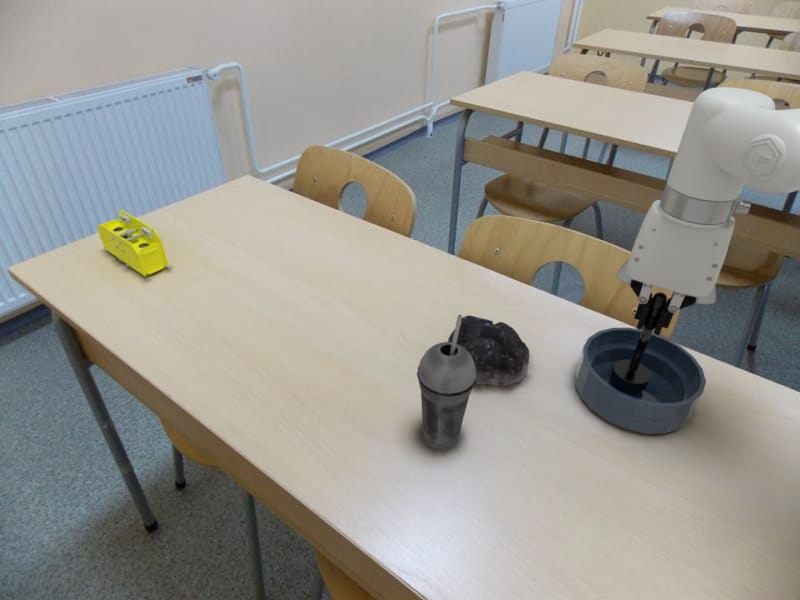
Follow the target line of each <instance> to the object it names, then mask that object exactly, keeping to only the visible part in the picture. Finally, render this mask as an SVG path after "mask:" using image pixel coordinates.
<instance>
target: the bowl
mask: <svg viewBox="0 0 800 600" xmlns="http://www.w3.org/2000/svg"><path fill="white" fill-rule="evenodd" d="M642 330H643V329H637V328H633V327H610V328H606V329H602V330H599V331H597V332H595V333H594V334H592V335H590V336H589V337H588V338H587V339H586V341H585V343H584V345H583V347H582V350H581V353H580V357H579V361H578V364H577V367H576V370H575V379H574V381H575V387H576V389H577V391H578V394H579V396H580V398H581V399H582V400H583V402H584V403H585V404H586V405H587V406H588V407H589V408H590V410H591V411H593V412H594V413H595V414H597V415H598V416H600V417H601V418H603V419H604V420H605V421H607V422H608V423H611V424H613V425H614V426H615V425H616V426H618V427H620V428H622V429H624V430H627V431H632V432H636V433H642V434H647V435H648V434H649V435H650V434H655V435H656V434H657V435H658V434H668V433H670V432H674V431H676V430H679V429H681V428H682V427H683V426H685V424H686V423H688V422H689V421H690V419H691V417H692V416H693V413H694V411H695V410H696V407H697V406H698V404H699V403H700V400H701V399H702V397H703V395H704V391H705V388H706V385H707V384H706V383H707V380H706V376H705V374H704V373H705V372H704V369H703V367H702V366H701V365H700V363H699V362H698V361H697V359H696V358H695V357H694V356H693V355H692V354H691V353H690V352H688V351H687V349H685V348H684V347H682V346H681V345H680V344H678V343H677V342H674V341H673V340H671V339H669V338H668V337H665V336H663V335H661V334H660V335H656V334H655V333H654V332H652V334H651V336H650V339H649V341H648V344H647V346H646V349H645V352H644V354H643V357H642V359H641V362H640V363H641V364H643V365H644V366H645V367H646V368H647V369H648V370H649V371H650V374H651V378H650V381H649V383H648V385H647V387H646V389H645V390H643V391H641V392H629V391H626V390H623V389H621V388H619V387H618V386H617V385H615V384H614V383H613V381H612V379H611V376H610V374H611V371H612V368H613V365H614V363H615V362H616V361H618V360H621V359H630V360H631V359H632V357H633V354H634V352H635V349H636V346H637V344H638V341H639V338H640V336H641V333H642Z"/></svg>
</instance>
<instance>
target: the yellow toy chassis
mask: <svg viewBox="0 0 800 600" xmlns="http://www.w3.org/2000/svg"><path fill="white" fill-rule="evenodd" d="M117 215H118V218H119V219H117V218H115V219H112V220H109V221H107V222H104V223H99V224H98V225H97V226H96V229H97V232H98V234H99V239H100V241H101V242H102V246H103V248H104V250H106V251H107V252H109V253H110V254H112V255H113V256H115V257H116V258H118V261H119V262H124V263H125V265H126V267H130V268H132V269H133V270H135V271H136V272H137V273H139V274H141V275H142V276H144V277H147V275H152V274H154V273H156V272H159V271H161V270H163V269H164V268H165V266H166V267H170V265H169V261H168V259H167V255H166V251H165V248H164V244H163V241H162V238H161V237H160V235H159V234H158V232H157V231H156V230H155V228H153V227H151V226H150V225H148V224H147V223H145V222H143V221H142V220H140V219H138V218H136V217H134V216H133V215H132V214H129V213H128V212H126V211H125V210H123V209H120V210H119V212H118V214H117Z"/></svg>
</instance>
